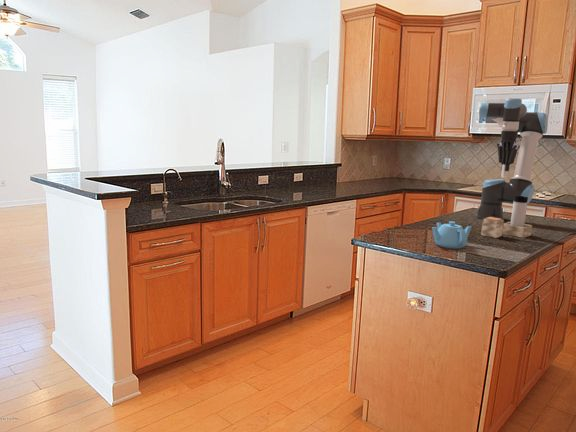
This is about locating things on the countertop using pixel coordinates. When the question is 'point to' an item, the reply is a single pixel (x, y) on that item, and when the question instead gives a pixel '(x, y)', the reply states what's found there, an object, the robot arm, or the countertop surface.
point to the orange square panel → (493, 219)
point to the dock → (504, 229)
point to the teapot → (450, 235)
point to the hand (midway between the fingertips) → (504, 177)
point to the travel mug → (519, 211)
